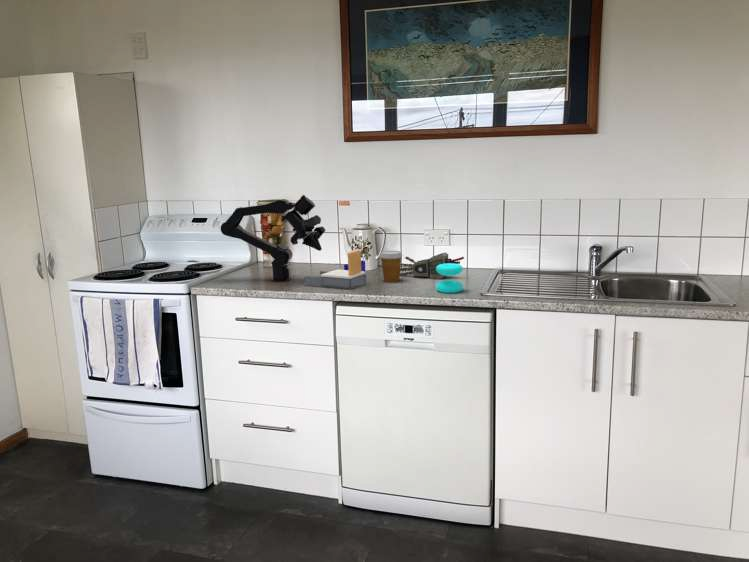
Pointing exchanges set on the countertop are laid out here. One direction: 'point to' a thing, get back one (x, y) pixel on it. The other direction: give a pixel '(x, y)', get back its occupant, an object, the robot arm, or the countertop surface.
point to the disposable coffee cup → (391, 265)
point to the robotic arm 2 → (428, 266)
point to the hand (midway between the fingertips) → (320, 249)
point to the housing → (335, 281)
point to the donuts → (449, 285)
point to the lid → (353, 267)
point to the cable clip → (361, 266)
